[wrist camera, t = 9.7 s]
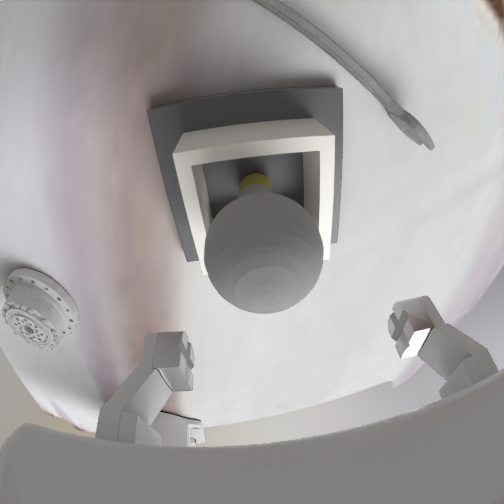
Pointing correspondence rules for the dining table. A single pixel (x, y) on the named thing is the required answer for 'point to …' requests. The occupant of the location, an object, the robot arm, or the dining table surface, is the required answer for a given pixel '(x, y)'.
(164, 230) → the dining table surface
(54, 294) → the mechanical component
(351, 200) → the dining table surface
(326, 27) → the dining table surface
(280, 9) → the combination wrench
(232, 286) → the light bulb
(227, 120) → the lamp base
